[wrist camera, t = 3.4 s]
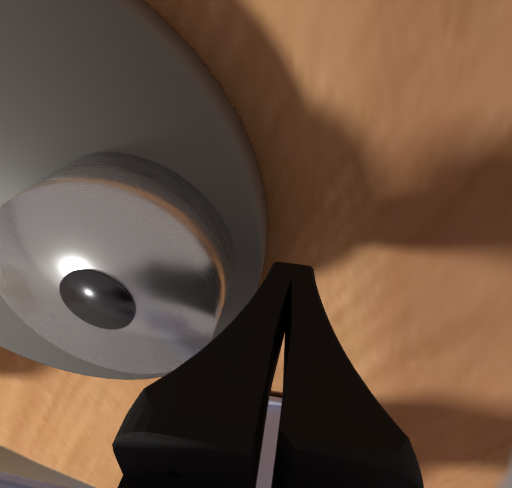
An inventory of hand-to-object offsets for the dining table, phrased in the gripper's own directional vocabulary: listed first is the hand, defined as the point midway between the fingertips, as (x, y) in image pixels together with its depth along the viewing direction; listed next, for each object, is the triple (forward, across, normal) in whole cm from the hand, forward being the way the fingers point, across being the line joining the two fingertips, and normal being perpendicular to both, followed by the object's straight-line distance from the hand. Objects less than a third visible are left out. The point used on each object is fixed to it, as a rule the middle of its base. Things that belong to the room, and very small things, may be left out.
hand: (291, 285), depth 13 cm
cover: (+1, +6, 0) cm, 6 cm away
